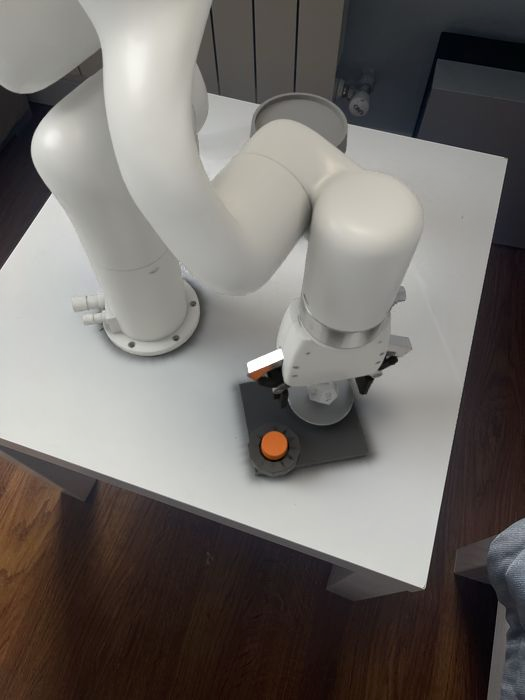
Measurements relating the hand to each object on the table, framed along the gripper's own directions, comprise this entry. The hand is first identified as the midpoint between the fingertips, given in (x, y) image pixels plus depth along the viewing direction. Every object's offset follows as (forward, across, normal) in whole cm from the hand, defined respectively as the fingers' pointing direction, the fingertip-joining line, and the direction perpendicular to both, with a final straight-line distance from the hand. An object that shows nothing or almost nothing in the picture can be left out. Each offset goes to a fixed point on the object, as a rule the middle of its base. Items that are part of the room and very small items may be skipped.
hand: (320, 389), depth 61 cm
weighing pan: (+2, 0, 0) cm, 2 cm away
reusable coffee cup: (+5, -4, -31) cm, 32 cm away
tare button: (+2, +6, +5) cm, 8 cm away
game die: (+1, 0, 0) cm, 1 cm away
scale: (+5, +2, +2) cm, 5 cm away
